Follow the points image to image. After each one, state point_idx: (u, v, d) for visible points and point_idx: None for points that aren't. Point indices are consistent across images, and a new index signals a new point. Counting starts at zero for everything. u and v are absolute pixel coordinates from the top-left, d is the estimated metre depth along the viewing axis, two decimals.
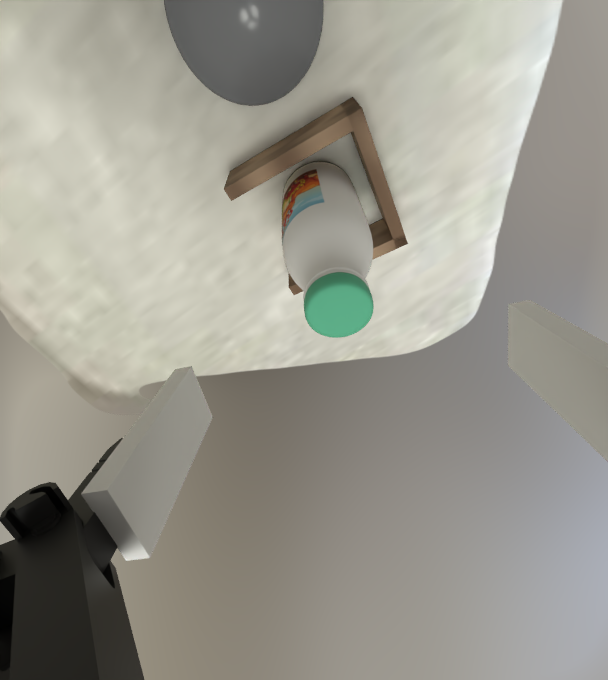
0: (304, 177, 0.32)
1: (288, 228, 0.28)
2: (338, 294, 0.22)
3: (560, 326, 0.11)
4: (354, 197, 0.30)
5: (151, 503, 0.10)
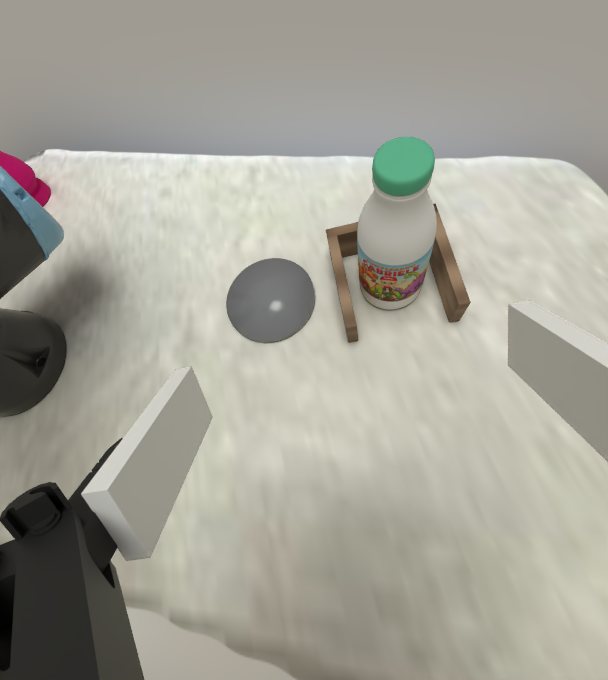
0: (359, 273, 0.41)
1: (368, 253, 0.34)
2: (382, 157, 0.26)
3: (560, 326, 0.11)
4: None
5: (151, 503, 0.10)
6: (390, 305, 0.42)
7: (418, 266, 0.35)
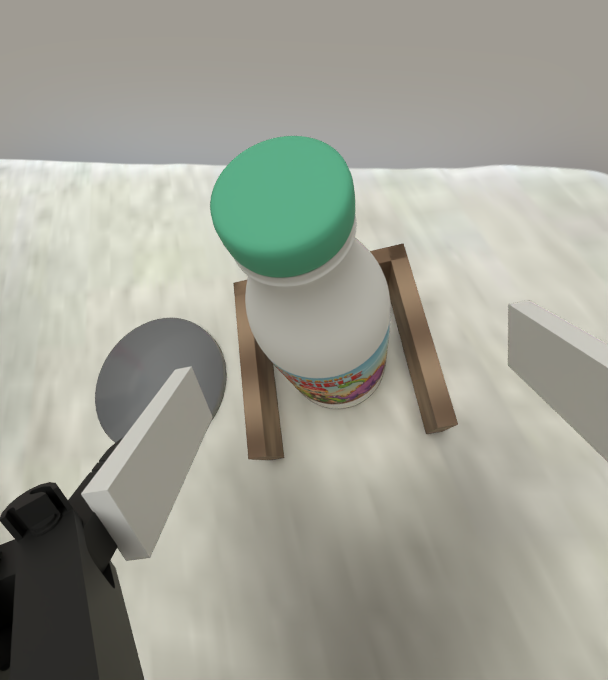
0: None
1: (265, 353, 0.18)
2: (228, 185, 0.11)
3: (560, 326, 0.11)
4: None
5: (151, 503, 0.10)
6: (332, 406, 0.26)
7: (361, 373, 0.19)
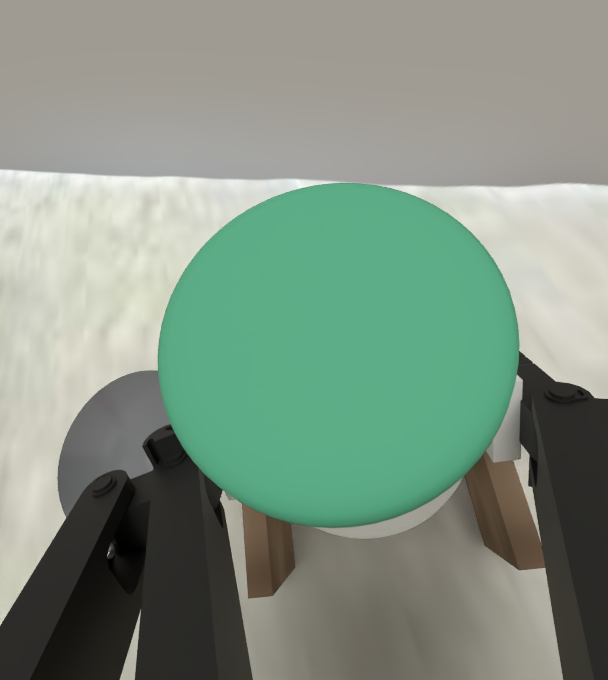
0: None
1: None
2: (202, 304, 0.05)
3: None
4: None
5: None
6: None
7: None
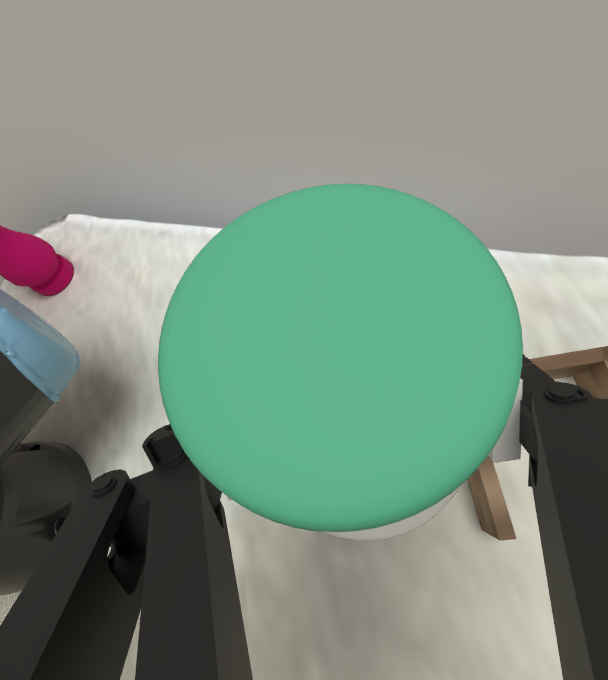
0: None
1: None
2: (202, 305, 0.05)
3: None
4: None
5: None
6: None
7: None
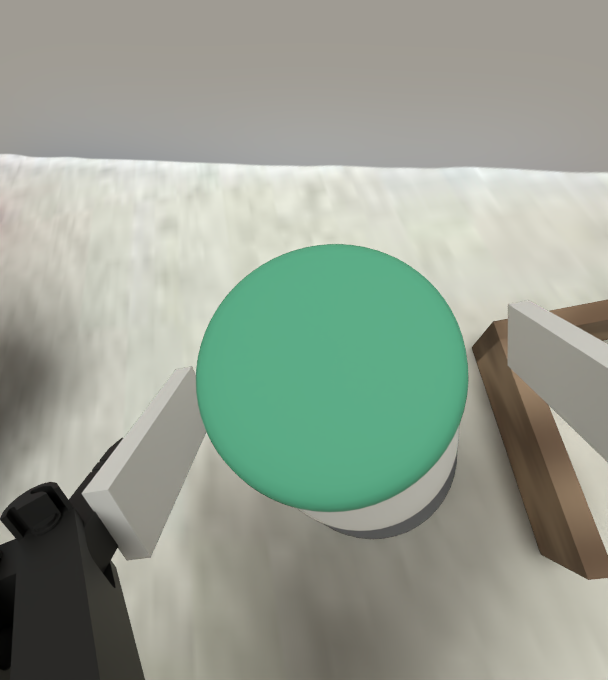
0: None
1: None
2: (230, 342, 0.06)
3: (559, 326, 0.11)
4: None
5: (152, 503, 0.10)
6: None
7: None
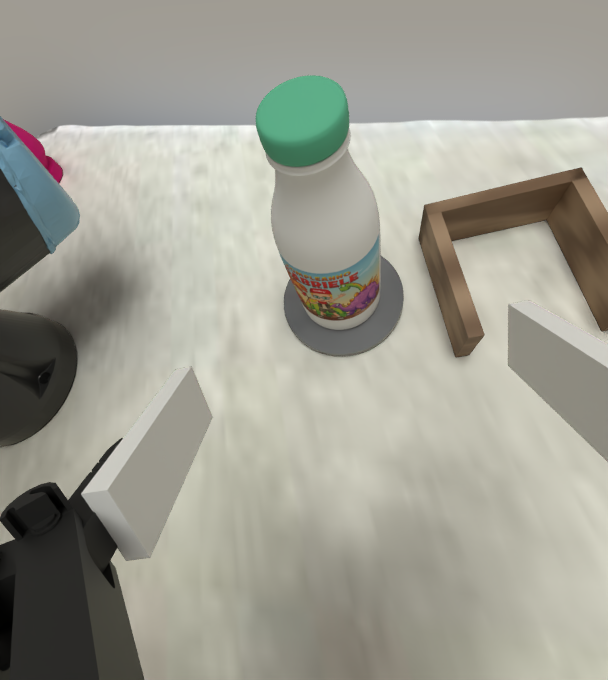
0: None
1: (284, 257, 0.24)
2: (267, 105, 0.17)
3: (560, 326, 0.11)
4: None
5: (151, 503, 0.10)
6: (336, 325, 0.32)
7: (357, 275, 0.25)
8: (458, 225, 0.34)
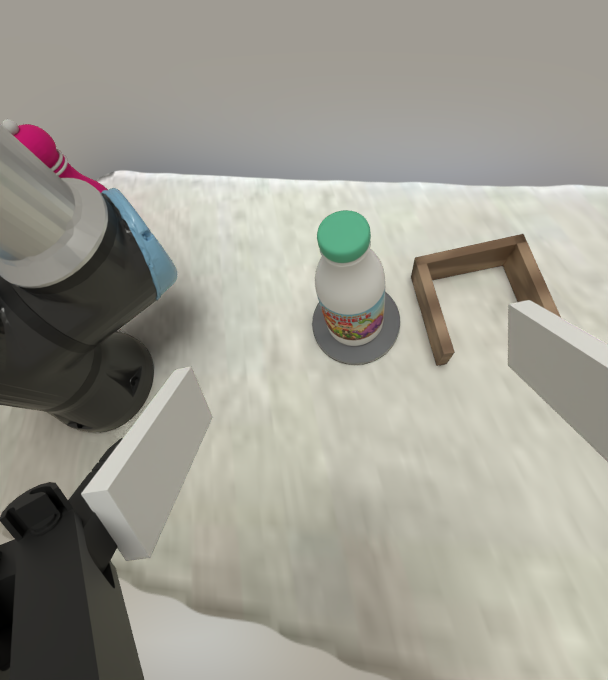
0: None
1: (323, 303, 0.37)
2: (324, 229, 0.30)
3: (560, 326, 0.11)
4: None
5: (151, 503, 0.10)
6: (352, 343, 0.45)
7: (370, 314, 0.38)
8: (439, 270, 0.47)
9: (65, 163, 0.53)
